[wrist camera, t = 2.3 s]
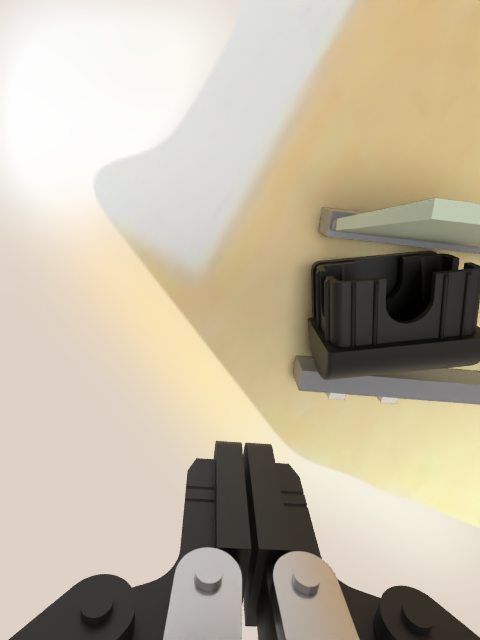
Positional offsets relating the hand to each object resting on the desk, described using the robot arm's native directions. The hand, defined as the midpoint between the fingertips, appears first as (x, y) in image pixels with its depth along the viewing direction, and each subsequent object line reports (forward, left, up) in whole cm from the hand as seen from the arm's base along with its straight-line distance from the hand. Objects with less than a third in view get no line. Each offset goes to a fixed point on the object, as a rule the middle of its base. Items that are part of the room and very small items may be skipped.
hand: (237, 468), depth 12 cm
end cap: (0, +11, -19) cm, 22 cm away
